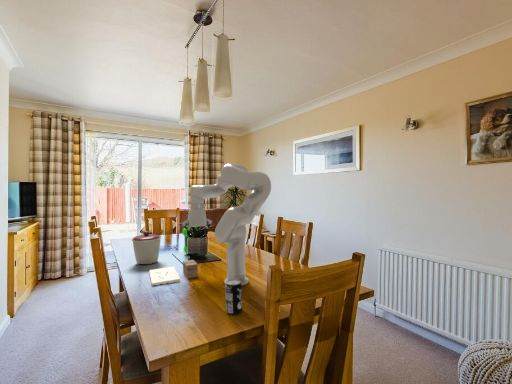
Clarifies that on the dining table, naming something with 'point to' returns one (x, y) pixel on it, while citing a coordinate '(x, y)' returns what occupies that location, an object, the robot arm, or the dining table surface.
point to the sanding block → (190, 268)
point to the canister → (146, 248)
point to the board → (164, 276)
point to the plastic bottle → (185, 239)
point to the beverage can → (233, 296)
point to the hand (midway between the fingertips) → (197, 236)
